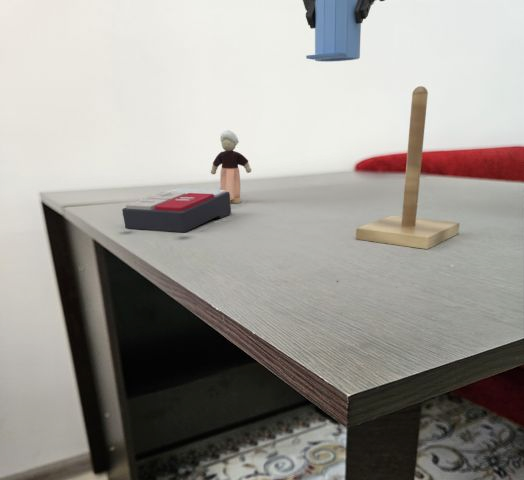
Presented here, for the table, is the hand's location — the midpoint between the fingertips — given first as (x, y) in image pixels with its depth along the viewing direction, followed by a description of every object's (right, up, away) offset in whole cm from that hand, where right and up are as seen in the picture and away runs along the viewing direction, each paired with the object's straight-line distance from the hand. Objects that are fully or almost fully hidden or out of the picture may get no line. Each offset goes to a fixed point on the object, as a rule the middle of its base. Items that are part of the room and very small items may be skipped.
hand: (334, 20), depth 76 cm
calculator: (-24, -28, +8) cm, 37 cm away
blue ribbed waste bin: (0, -4, +2) cm, 5 cm away
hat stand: (+9, -33, -6) cm, 35 cm away
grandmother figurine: (-16, -20, +23) cm, 35 cm away
